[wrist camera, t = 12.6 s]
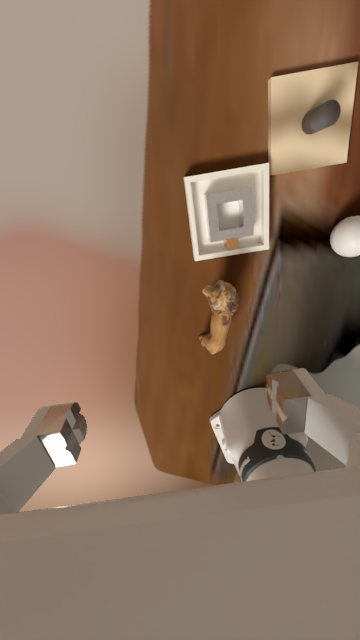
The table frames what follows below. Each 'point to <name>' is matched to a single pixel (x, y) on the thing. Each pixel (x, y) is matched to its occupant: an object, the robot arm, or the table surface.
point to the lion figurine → (219, 314)
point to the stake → (310, 118)
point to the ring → (245, 216)
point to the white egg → (346, 237)
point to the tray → (228, 209)
